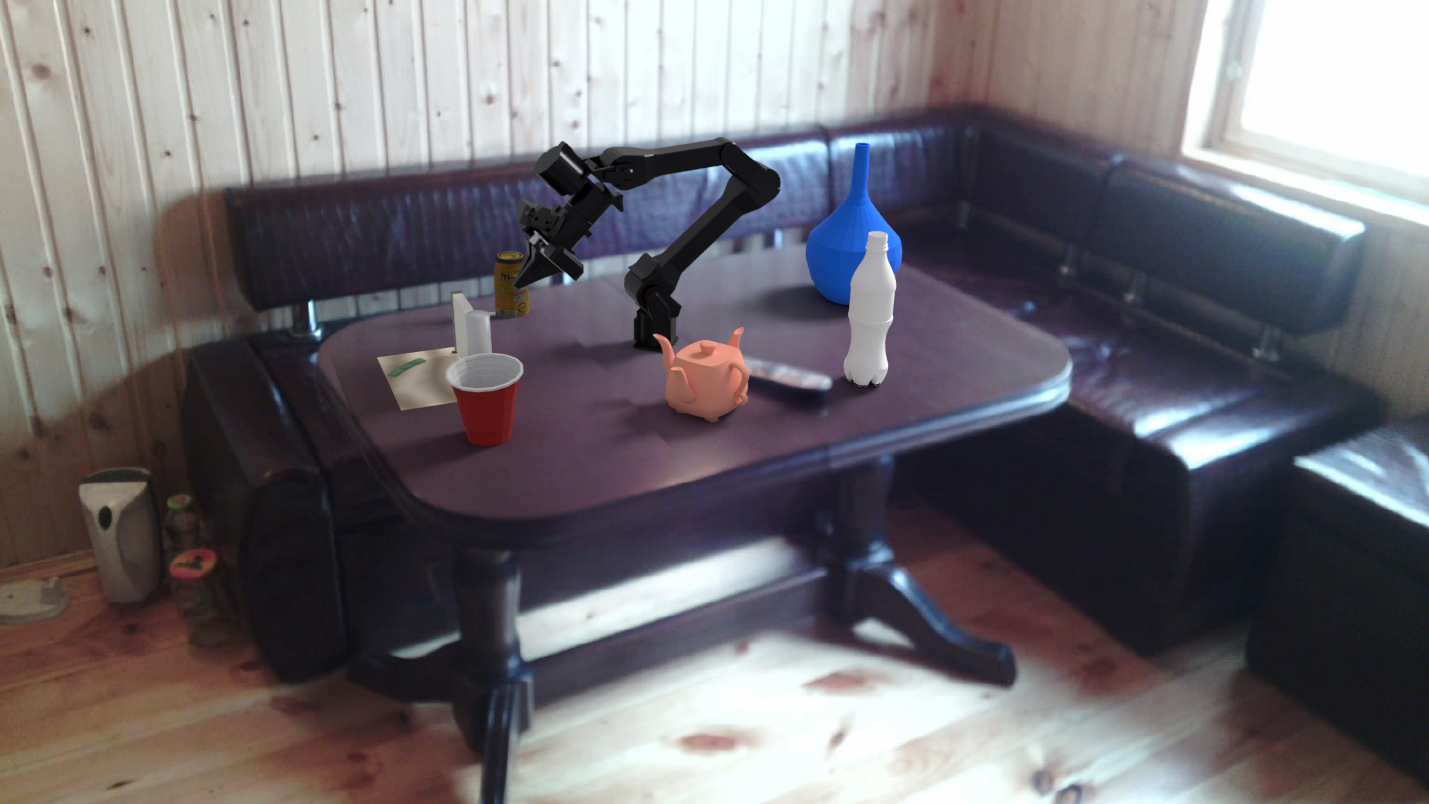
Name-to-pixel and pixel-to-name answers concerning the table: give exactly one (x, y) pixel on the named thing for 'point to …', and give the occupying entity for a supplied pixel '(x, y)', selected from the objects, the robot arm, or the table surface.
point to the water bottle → (870, 313)
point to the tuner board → (420, 377)
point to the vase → (848, 237)
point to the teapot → (705, 377)
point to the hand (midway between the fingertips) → (515, 286)
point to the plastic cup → (486, 395)
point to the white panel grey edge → (469, 327)
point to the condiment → (509, 286)
